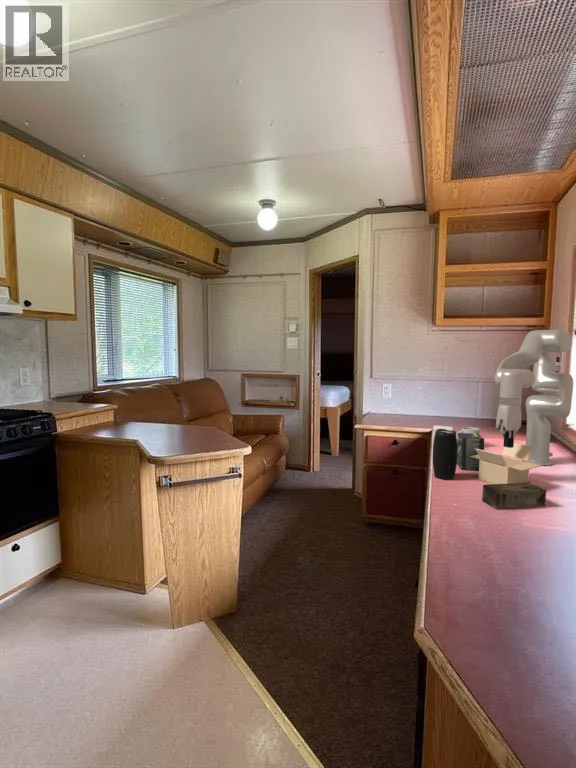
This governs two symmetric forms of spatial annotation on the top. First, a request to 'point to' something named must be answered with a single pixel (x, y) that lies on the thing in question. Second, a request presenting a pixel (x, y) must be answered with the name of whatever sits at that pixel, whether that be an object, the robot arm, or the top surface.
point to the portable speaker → (445, 454)
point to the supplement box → (435, 431)
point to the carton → (504, 471)
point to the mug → (469, 430)
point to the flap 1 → (491, 457)
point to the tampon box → (468, 450)
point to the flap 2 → (518, 451)
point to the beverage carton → (513, 495)
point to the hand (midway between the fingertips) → (508, 446)
